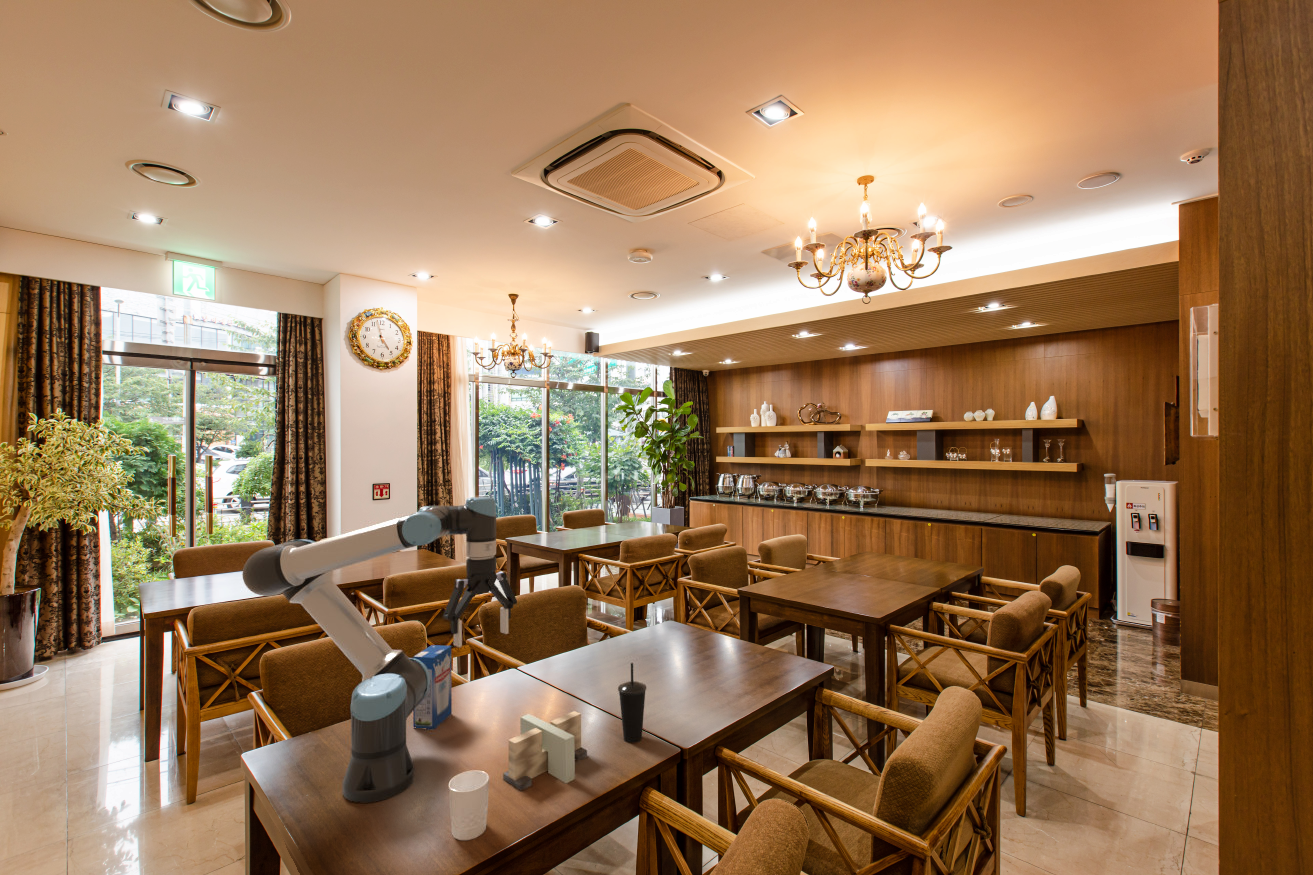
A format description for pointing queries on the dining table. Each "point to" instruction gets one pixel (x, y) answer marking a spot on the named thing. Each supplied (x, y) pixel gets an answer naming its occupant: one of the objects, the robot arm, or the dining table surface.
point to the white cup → (468, 804)
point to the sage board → (554, 747)
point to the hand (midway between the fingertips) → (481, 639)
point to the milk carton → (435, 688)
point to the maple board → (538, 751)
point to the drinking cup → (632, 708)
